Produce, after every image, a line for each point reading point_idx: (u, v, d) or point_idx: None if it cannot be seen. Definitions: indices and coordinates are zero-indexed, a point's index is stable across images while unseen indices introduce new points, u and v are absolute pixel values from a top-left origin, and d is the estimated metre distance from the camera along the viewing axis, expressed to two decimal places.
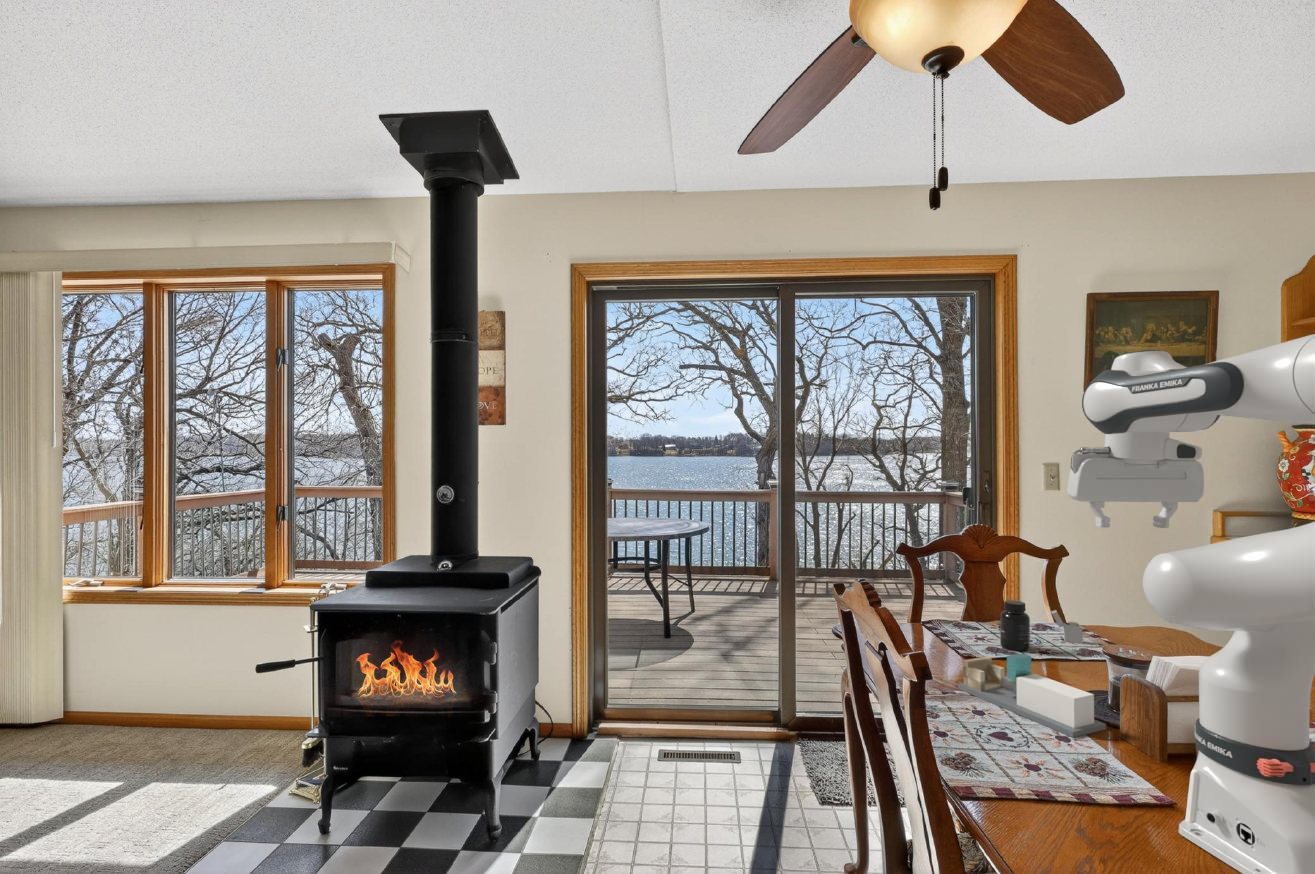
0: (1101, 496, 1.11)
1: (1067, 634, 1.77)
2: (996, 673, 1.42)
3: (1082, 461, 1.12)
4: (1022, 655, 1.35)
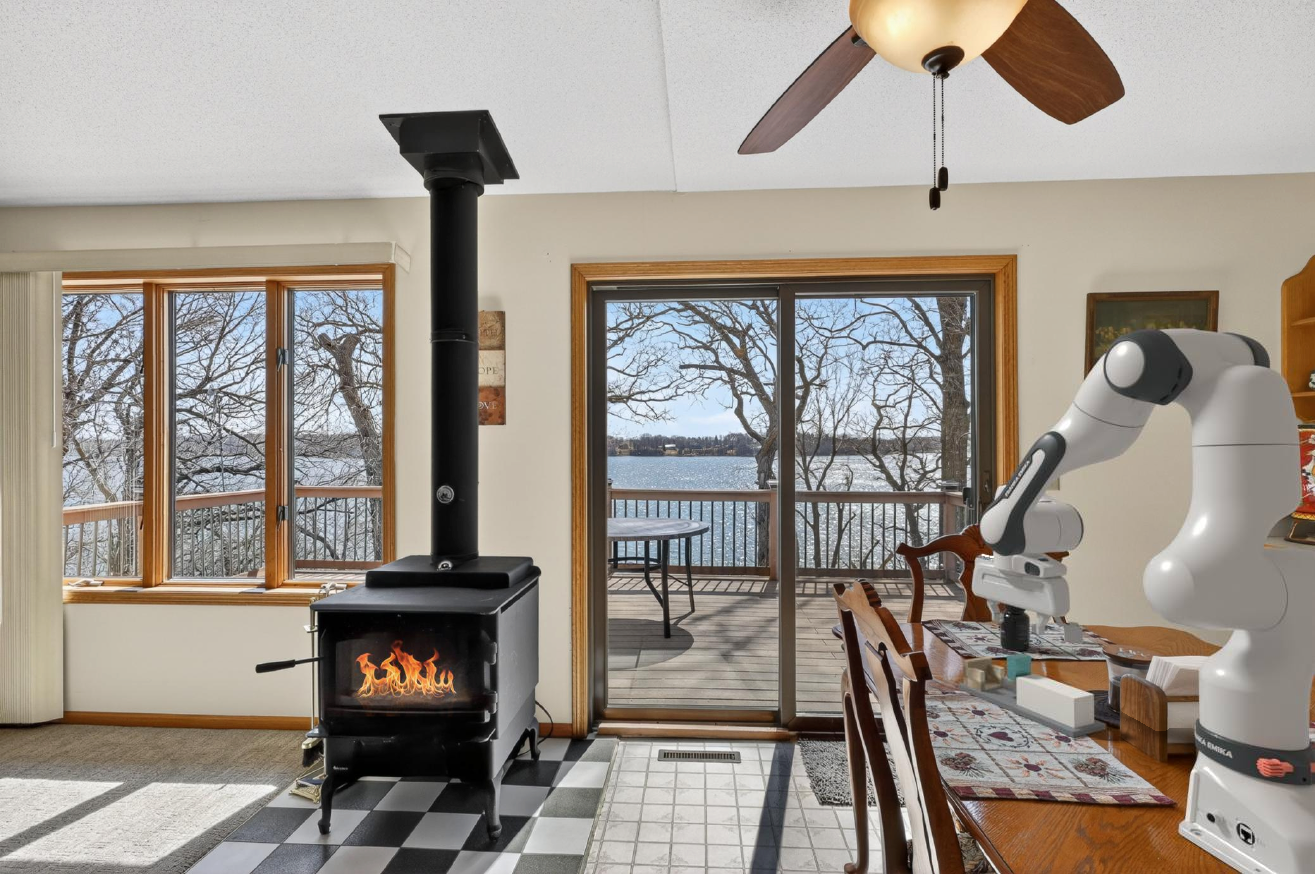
0: (985, 594, 1.40)
1: (1067, 634, 1.77)
2: (996, 673, 1.42)
3: None
4: (1022, 655, 1.35)
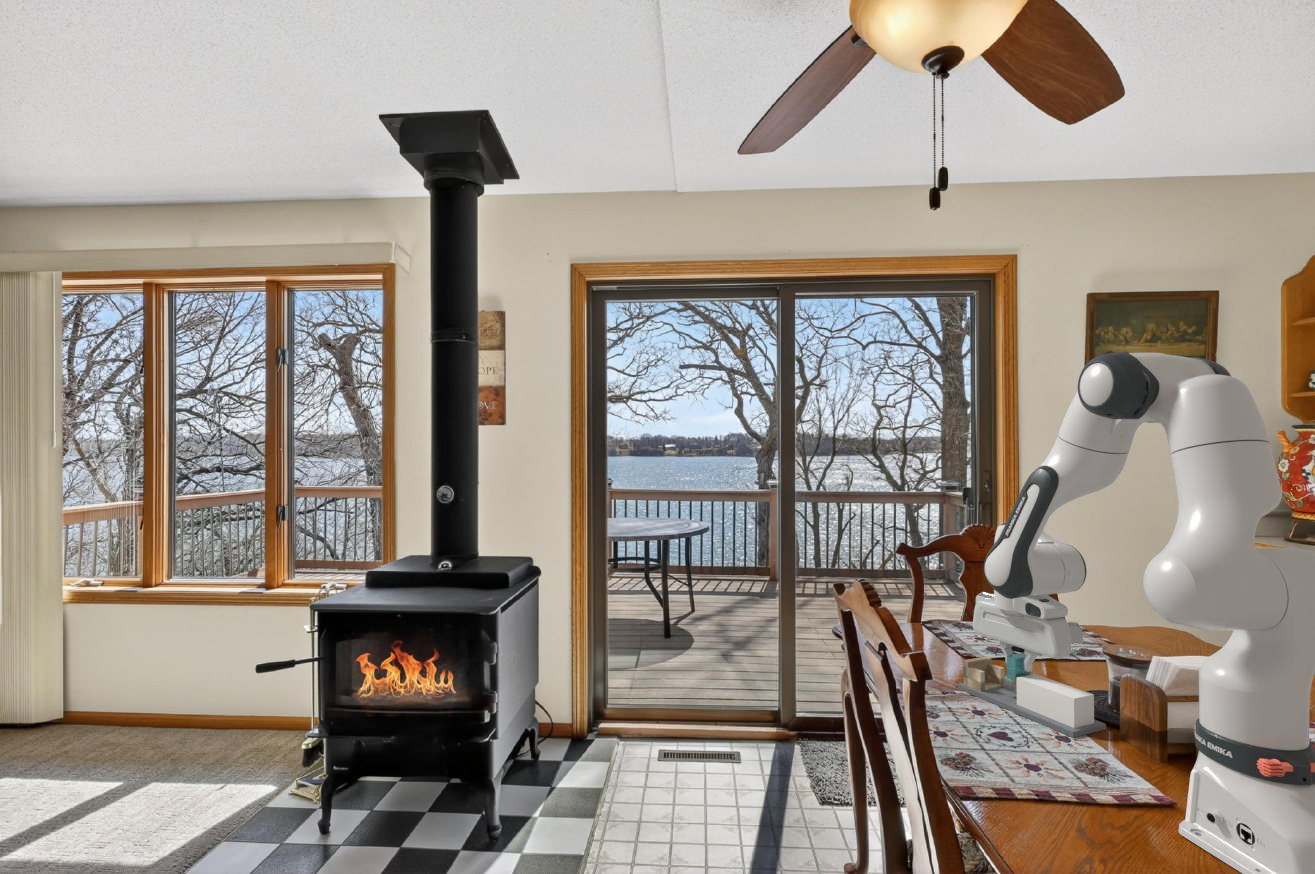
0: (986, 633, 1.40)
1: None
2: (996, 673, 1.42)
3: (979, 602, 1.43)
4: (1022, 655, 1.35)
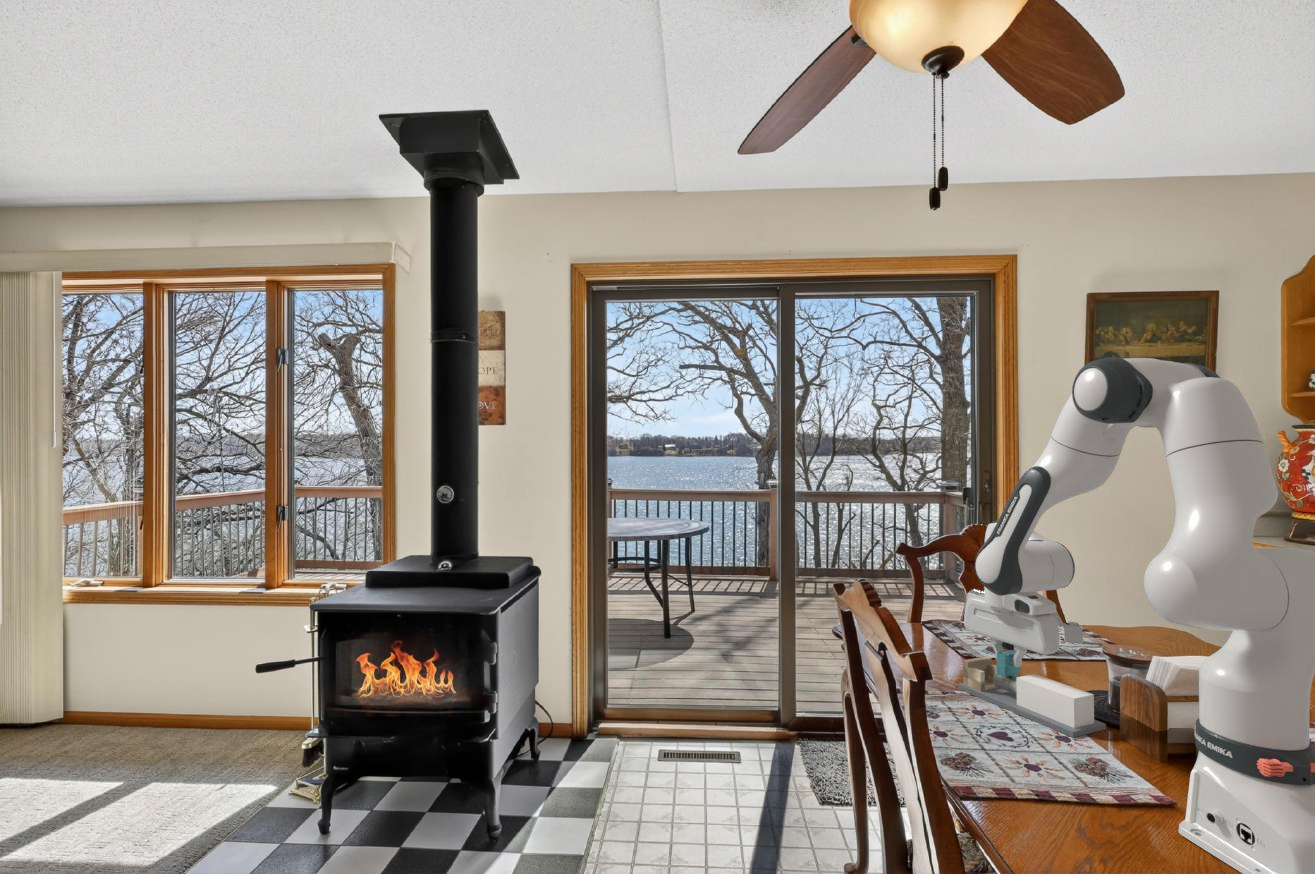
0: (977, 629, 1.42)
1: (1067, 634, 1.77)
2: None
3: (970, 599, 1.45)
4: (1011, 652, 1.37)
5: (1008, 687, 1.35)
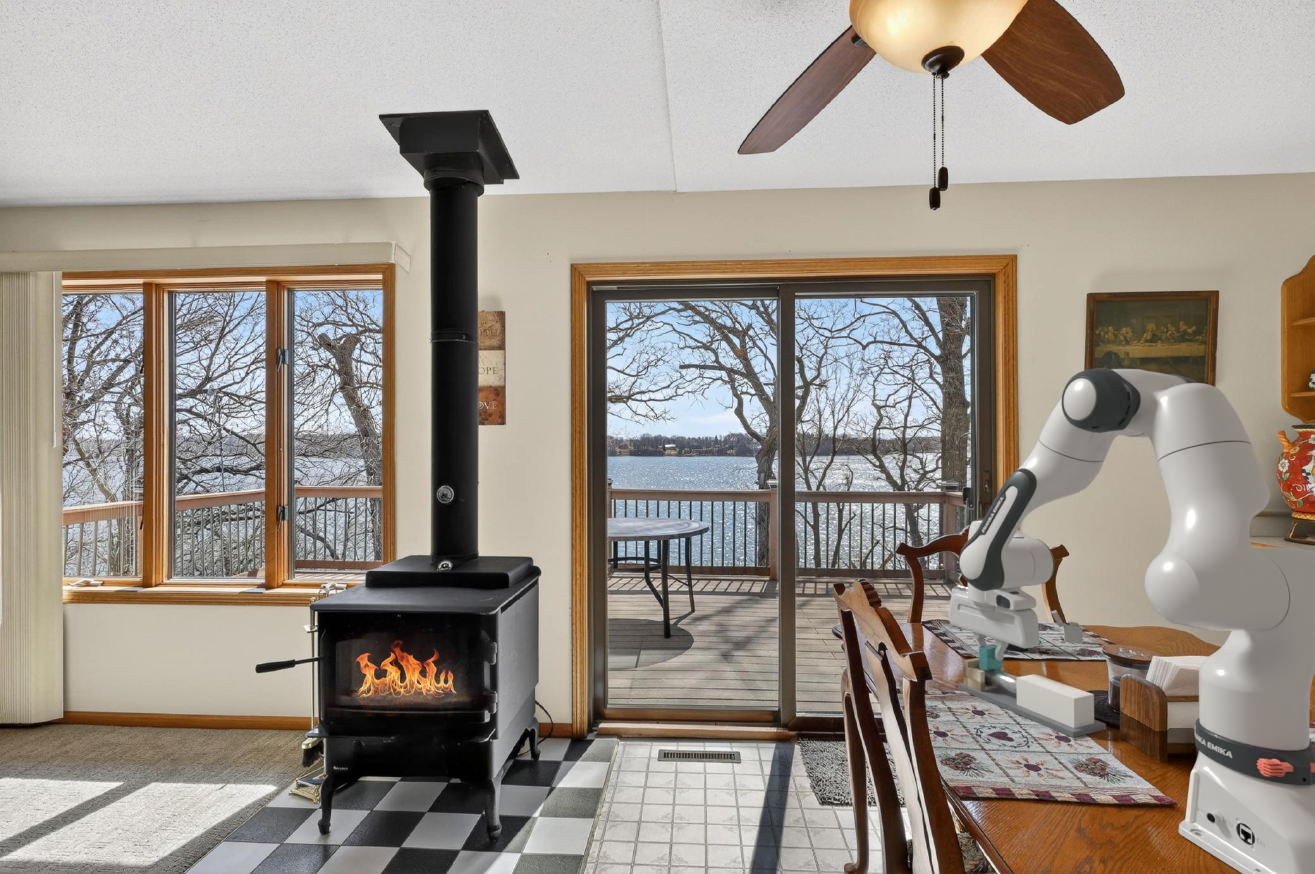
0: (961, 624, 1.46)
1: (1067, 634, 1.77)
2: None
3: None
4: (994, 646, 1.41)
5: (990, 680, 1.39)
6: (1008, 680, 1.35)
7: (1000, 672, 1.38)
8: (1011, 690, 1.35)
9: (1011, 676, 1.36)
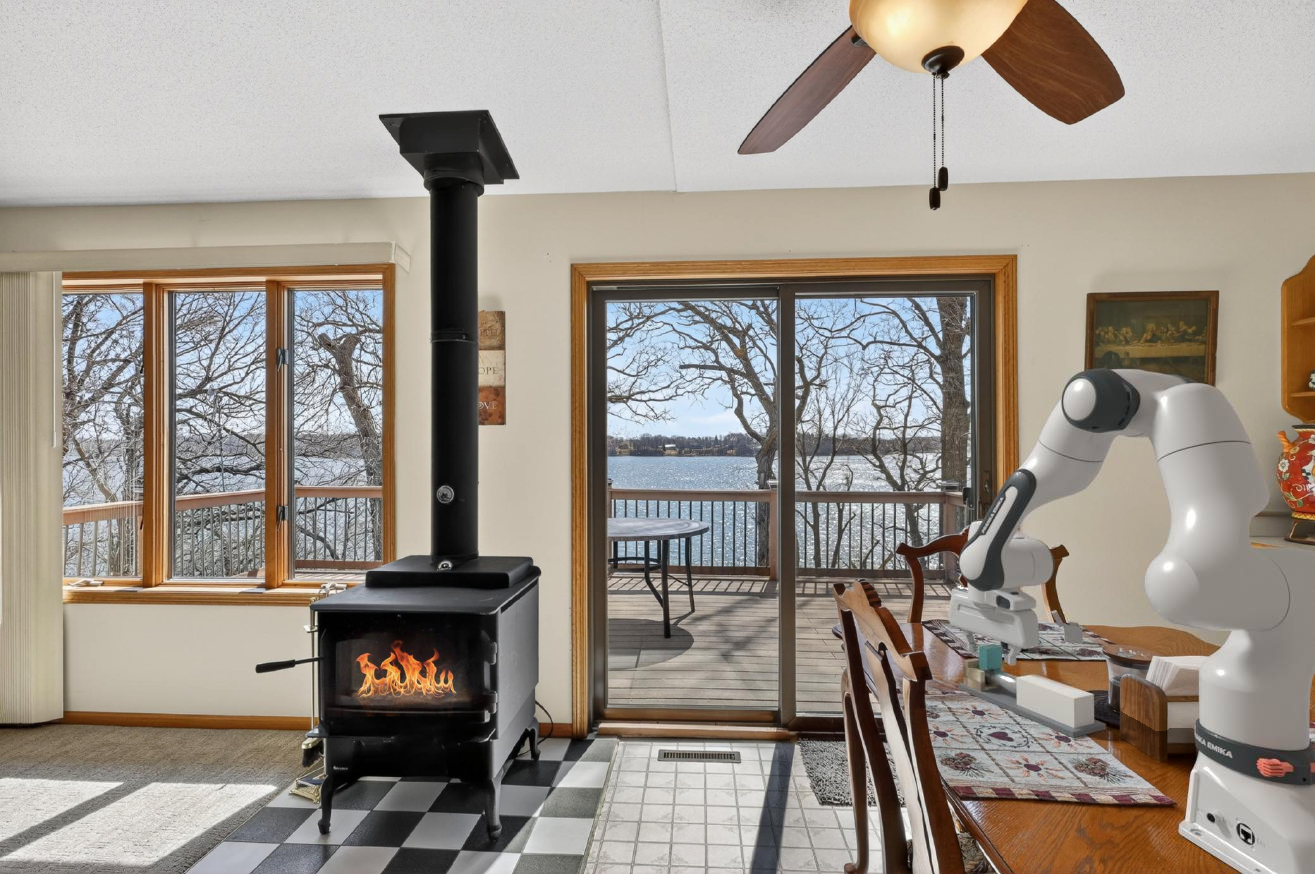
0: (961, 624, 1.46)
1: (1067, 634, 1.77)
2: None
3: (954, 595, 1.49)
4: (993, 646, 1.41)
5: (990, 680, 1.39)
6: (1008, 680, 1.35)
7: (1000, 672, 1.38)
8: (1011, 690, 1.35)
9: (1011, 676, 1.36)
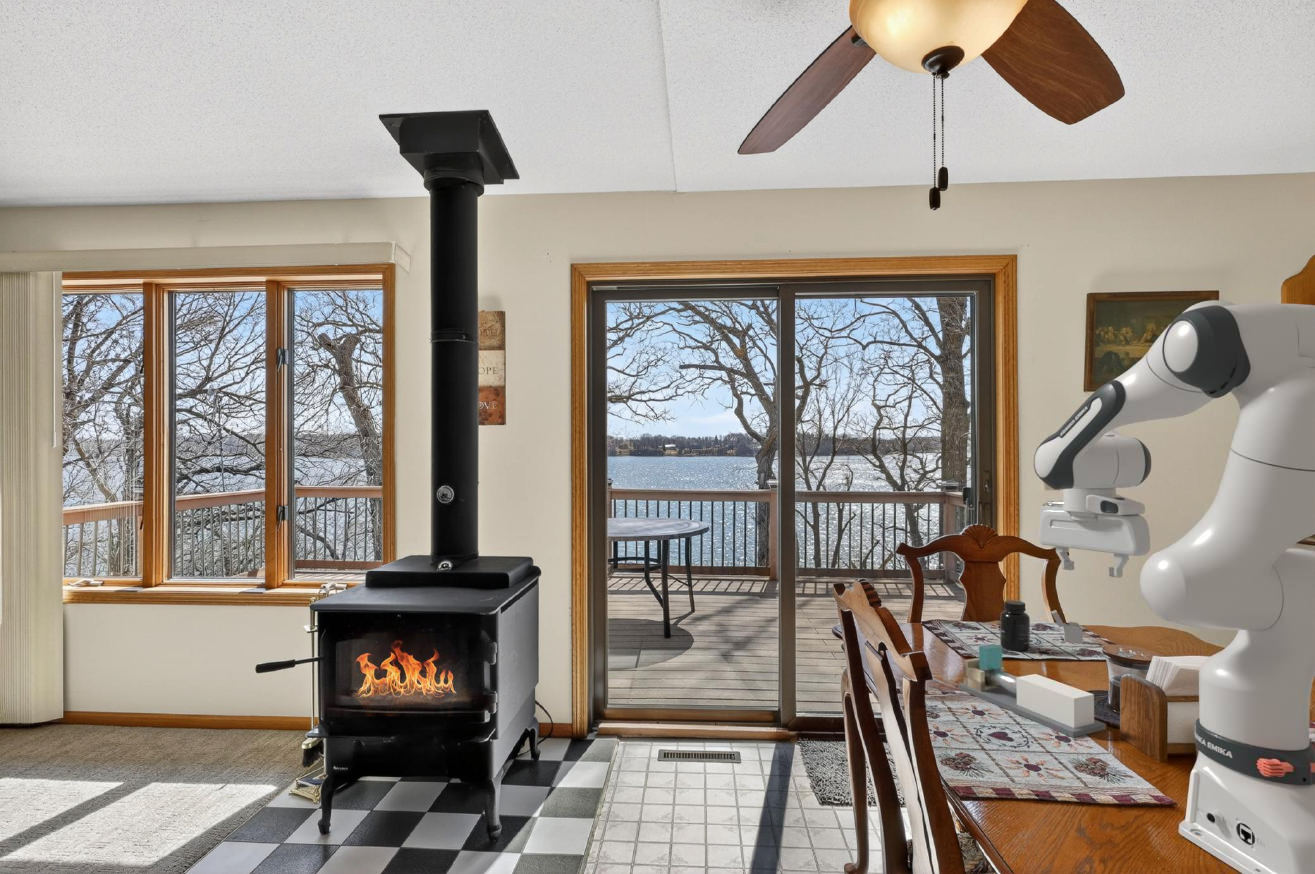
0: (1054, 541, 1.35)
1: (1067, 634, 1.77)
2: None
3: None
4: (993, 646, 1.41)
5: (990, 680, 1.39)
6: (1008, 680, 1.35)
7: (1000, 672, 1.38)
8: (1011, 690, 1.35)
9: (1011, 676, 1.36)
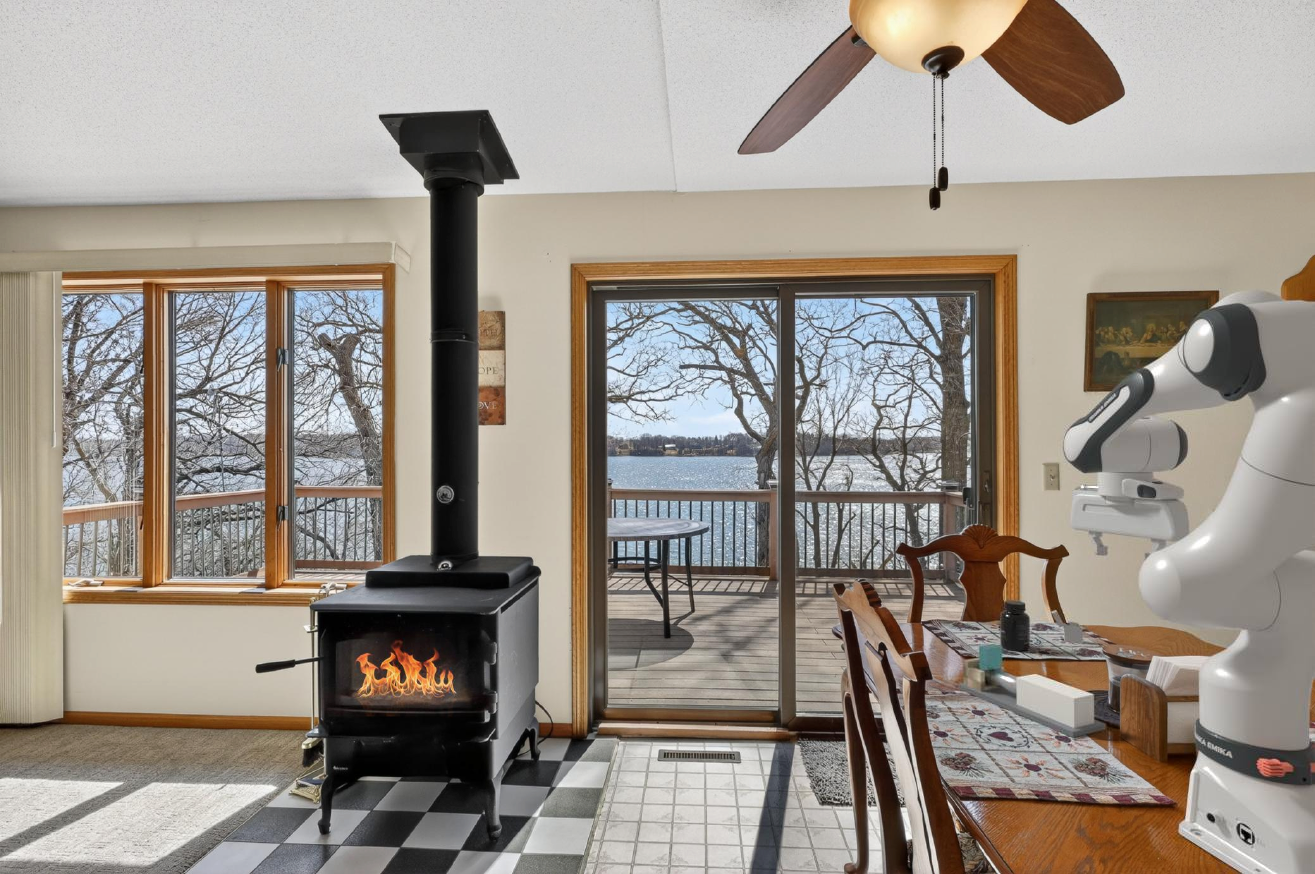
0: (1087, 526, 1.32)
1: (1067, 634, 1.77)
2: None
3: None
4: (993, 646, 1.41)
5: (990, 680, 1.39)
6: (1008, 680, 1.35)
7: (1000, 672, 1.38)
8: (1011, 690, 1.35)
9: (1011, 676, 1.36)
